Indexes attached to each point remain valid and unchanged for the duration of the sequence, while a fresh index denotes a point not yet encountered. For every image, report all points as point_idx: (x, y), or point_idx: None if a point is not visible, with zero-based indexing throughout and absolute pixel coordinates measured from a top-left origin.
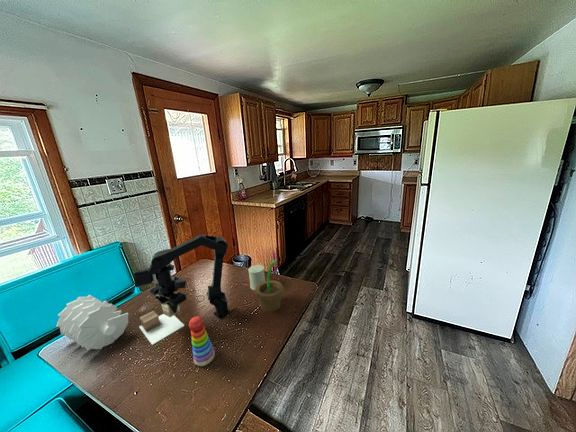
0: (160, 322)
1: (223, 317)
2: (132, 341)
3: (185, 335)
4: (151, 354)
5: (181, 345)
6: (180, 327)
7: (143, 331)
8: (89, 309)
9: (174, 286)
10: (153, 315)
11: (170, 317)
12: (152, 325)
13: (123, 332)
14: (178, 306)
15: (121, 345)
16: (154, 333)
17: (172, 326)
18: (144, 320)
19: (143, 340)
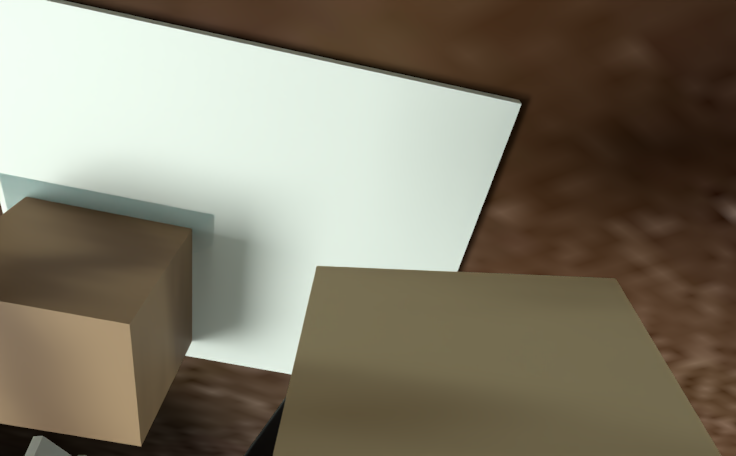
0: (149, 206)
1: None
2: (202, 415)
3: (662, 202)
4: None
5: (713, 301)
6: (498, 156)
7: None
8: None
9: None
10: (63, 343)
11: (153, 85)
12: (176, 321)
13: (45, 439)
14: (683, 434)
15: (177, 452)
16: (286, 324)
17: (371, 188)
18: (89, 425)
19: (275, 384)
